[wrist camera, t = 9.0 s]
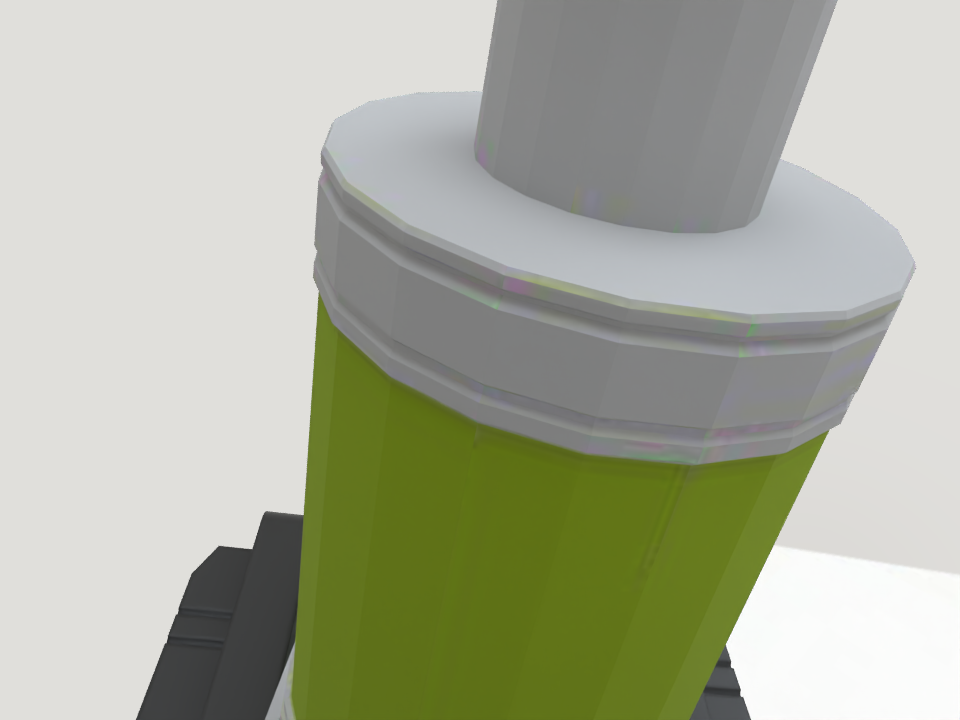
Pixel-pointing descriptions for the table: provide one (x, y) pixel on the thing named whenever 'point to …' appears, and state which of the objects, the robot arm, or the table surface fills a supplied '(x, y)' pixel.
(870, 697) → the table surface
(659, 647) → the vape
